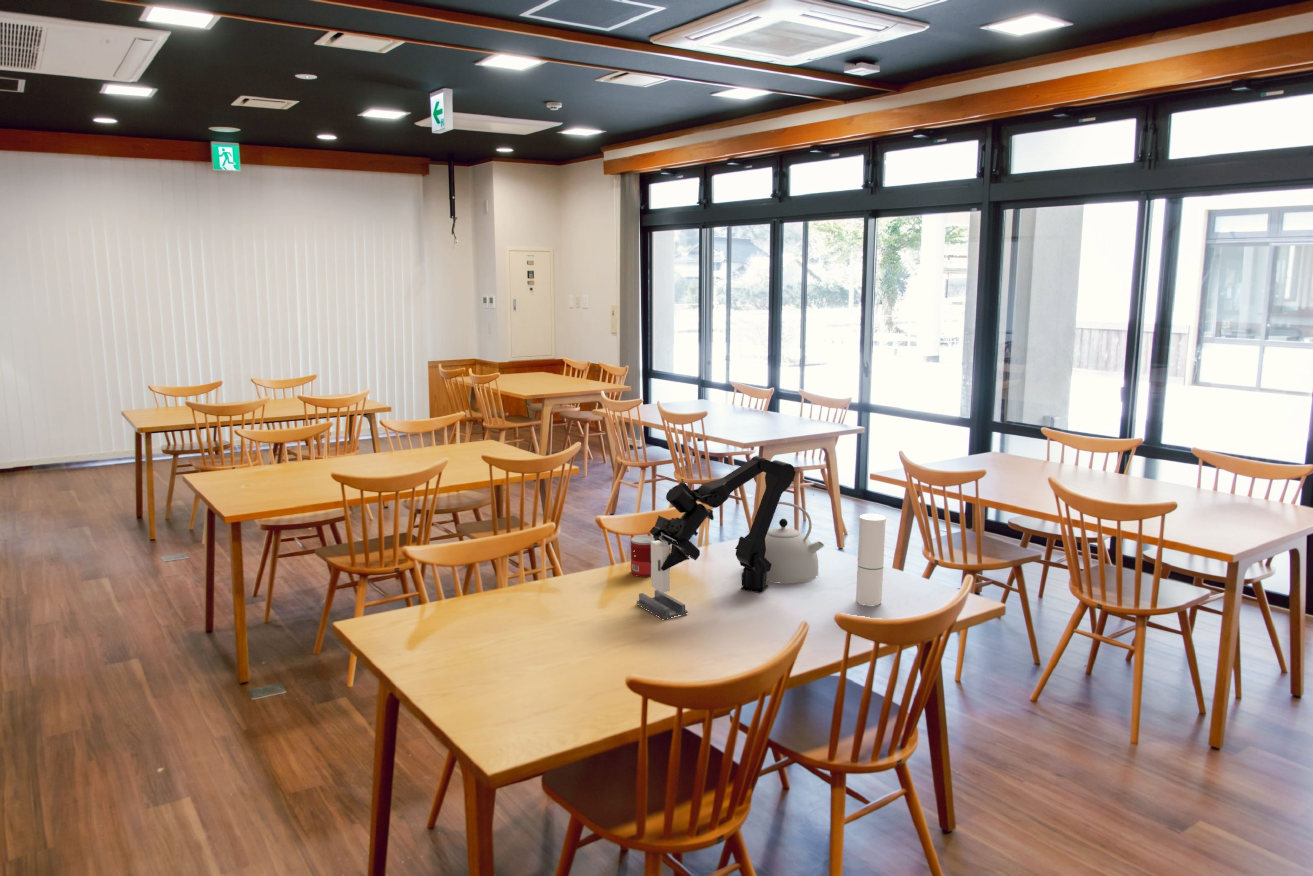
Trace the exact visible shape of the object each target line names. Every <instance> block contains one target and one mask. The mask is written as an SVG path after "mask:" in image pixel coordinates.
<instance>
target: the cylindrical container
mask: <svg viewBox="0 0 1313 876" xmlns="http://www.w3.org/2000/svg"><path fill="white" fill-rule="evenodd" d="M886 519H887V518H886V516H885V515H882V514H878V513H877V514H876V513H863V514H860V515H859V522H858V523H859V524H858V544H857V545H858V547H857V568H856V569H857V571H856V590H855V591H856V594H855V602H856V601H857V602H858V603H860V604H859V605H861V604H865V605H877V604H880V603H881V602H882V600H883V581H884V564H885V563H884V560H885V559H884V558H885V543H886V538H885V537H886ZM857 602H856V603H857ZM858 603H857V604H858ZM882 603H883V602H882ZM882 603H881V604H882ZM881 604H880V605H881Z"/></svg>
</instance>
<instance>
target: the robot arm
mask: <svg viewBox="0 0 1313 876" xmlns="http://www.w3.org/2000/svg"><path fill="white" fill-rule="evenodd" d="M761 473H765V475H764V481H765V482H764V483H765V490H764V492H763V495H762V498H761V500H760V502H759V503H760V504H759V506H758V508H757V511H756V514H755V517H754V519H753V522H752V525H751V527H750V530H749V532H748V534H746V535H745V536H744V537H743V536H739V538H738V542H737V545H736V547H735V556H736V559H737V560H738V562H739V564H740V566H741V567H743V571H742V572H741V587H740V590H742V591H747V592H754V593H763V592H764V591H765V590H766V589H767V588H768V587H769V584H767V581H766V578H767V572H768V571H770V569H771V565H772V564H771V563H770V562H769V561H768V560H767V559H766V558H765V553H766V544H765V538H766V535H767V532H768V530H769V529H770V526H771V524H772V522H773V521H772V520H774V516H775V513H776V511H777V509H778V508H777V507H778V505H779V504H778V502H780V499H781V497H782V495H783V493H784V492H786V490H787V489H789V488H790V486H791V484H792V483H793V480H794V479H795V476H796V469H795V467H794V465H792V464H790V463H788V462H783V461H780V460H778V459H777V460H772V461H771V460H768V459H767V458H766V457H762V456H758V455H755V456H752V457H751V458H750V460H749V461H747V462H745V463H744V464H742V465H741V466H739V467H737V468H736V469H734V470H733V471H731V472H730V473H728V474H727V475H725V476H724V477H721V478H719V479H714V480H710V481H708V482H705V483H703V484H701V485H700V486H699V487H698V488H696V489H691V488H690V487H689V486H688V485H687V483H686V482H683V481H681V482H680V483H679V484H678V485H674V486H673V487H672V488H669V490H668V491H667V493H666V496H665V499H666V500H667V502H668V503H669V504H670V505H671V506H672V507H673V508H674V509H675V510H676V511H677V512H679V513H680V514H682V513H683V514H682V515H681V517H680V518H679V517H676V518H674V517H671V519H669V518H668V517H664V516H662V515H658V516H657V518H656V521H655V525H654V526H652V528H650V530H649V533H650V534H651V535H652V537H653V538H654V540H655V541H657V540H659V541H661V542H663V543H665V544H667V545H669V546H670V545H671V547H670V554H669V556H668V557H667V559H666V560H665V562H664V563H663V565H662V567H661V570H663V571H665V570H666V569H668V568H672V567H674V566H676V565H678V564H680V563H683V562H684V561H689V560H690V559H692V560H694V561H697V559H698V558H699V557H700V555H701V551H700V549H699V548H698V547H697V546H696V545H695V544H694V543H693V542H691V539H692V537H693V536H695V537H697V536H698V534H699V532H698V531H697V530H699V528H700V526H701V525H702V524H703V523H704V521H705V520H706V519H708V520H711V521H714V519H715V518H714V510H713V509H715V508H720V507H721V506H722V505H723V504H724V503H725V502H726V501H727V500H728V499H729V497H730V495H731V494H732V493H733V492H734V491H735V490H737V489H738V488H740V487H741V486H744V485H745V484H746V483H748V482H749V481H751V480H752V479H755V477H757V476H759V475H760V474H761ZM698 502H699V503H698ZM706 506H708V507H711V508H713V509H711V508H707V507H706ZM649 563H650V564H651V558H650V561H649Z"/></svg>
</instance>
